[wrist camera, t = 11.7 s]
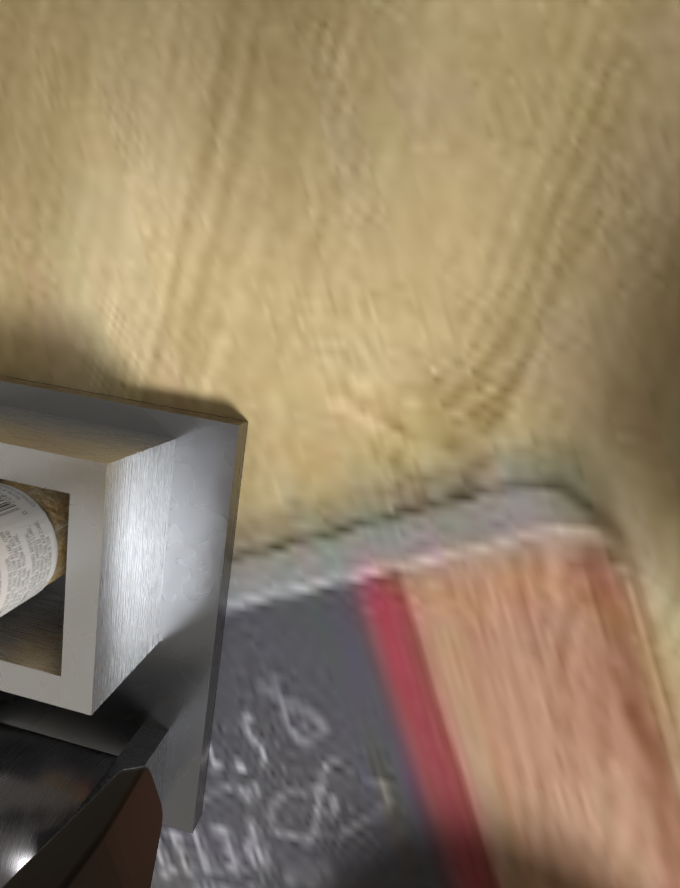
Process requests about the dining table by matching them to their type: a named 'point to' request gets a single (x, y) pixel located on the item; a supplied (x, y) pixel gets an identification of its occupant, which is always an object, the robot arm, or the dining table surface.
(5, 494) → the sprinkles bottle
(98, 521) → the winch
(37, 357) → the dining table surface
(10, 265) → the dining table surface
